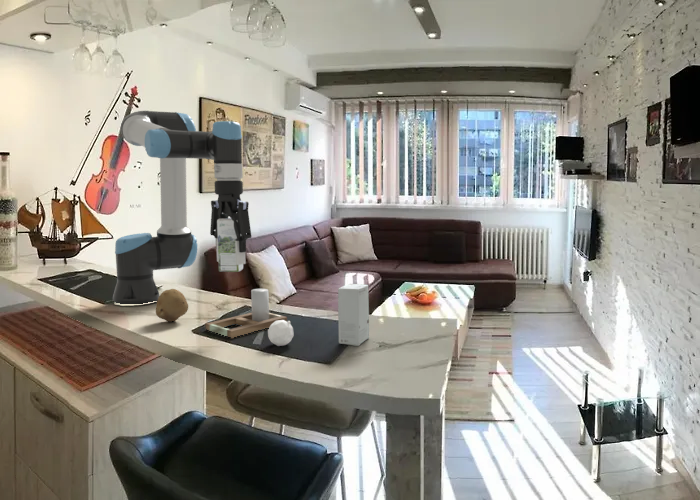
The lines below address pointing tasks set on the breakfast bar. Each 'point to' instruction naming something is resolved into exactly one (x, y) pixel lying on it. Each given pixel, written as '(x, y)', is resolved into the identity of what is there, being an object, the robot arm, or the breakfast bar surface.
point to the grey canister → (260, 304)
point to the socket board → (243, 320)
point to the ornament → (280, 332)
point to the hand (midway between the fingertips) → (231, 262)
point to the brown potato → (171, 305)
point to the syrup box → (227, 246)
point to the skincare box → (353, 314)
